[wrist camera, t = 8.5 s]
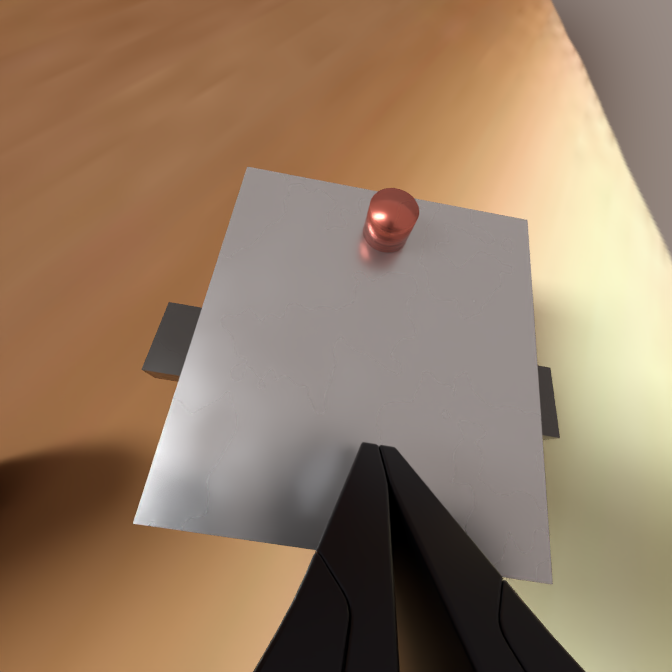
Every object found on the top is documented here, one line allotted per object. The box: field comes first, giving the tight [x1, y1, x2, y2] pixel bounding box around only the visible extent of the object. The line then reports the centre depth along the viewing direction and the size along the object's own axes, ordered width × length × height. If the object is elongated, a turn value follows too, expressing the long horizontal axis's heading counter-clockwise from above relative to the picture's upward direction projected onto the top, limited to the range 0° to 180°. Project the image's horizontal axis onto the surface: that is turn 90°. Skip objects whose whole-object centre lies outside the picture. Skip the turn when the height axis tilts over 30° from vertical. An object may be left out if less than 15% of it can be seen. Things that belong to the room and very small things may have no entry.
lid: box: [133, 167, 553, 584], centre depth 11 cm, size 13×12×3 cm
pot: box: [142, 302, 560, 440], centre depth 15 cm, size 12×17×5 cm
